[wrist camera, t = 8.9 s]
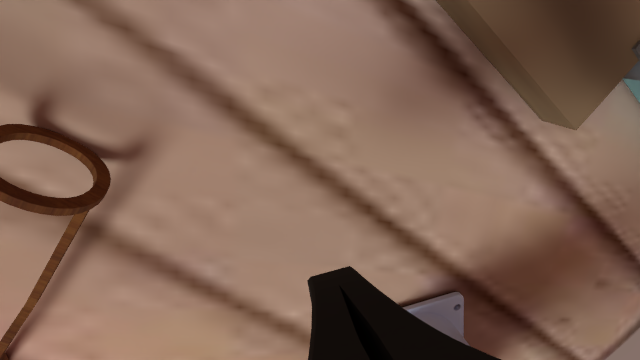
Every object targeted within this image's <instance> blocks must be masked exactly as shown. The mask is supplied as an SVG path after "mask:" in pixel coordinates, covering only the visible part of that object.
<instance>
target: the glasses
mask: <svg viewBox="0 0 640 360" xmlns="http://www.w3.org/2000/svg"><path fill="white" fill-rule="evenodd" d="M11 140H30V141H36V142H40V143H44V144H47V145H50V146H53V147H56V148H58V149H60V150H63V151H65V152H67V153H68V154H70V155H72V156H74V157H75V158H77V159H78V160H80V161H81V162H82V163H83V164H84V165H85V166H86V167H87V168H88V169H89V170H90V172H91V174H92V176H93V181H94V182H93V187H92V188H91V189H90V190H89V191H88V192H86V193H84V194H82V195H79V196H77V197H71V198H54V197H47V196H42V195H38V194H34V193H31V192H29V191H26V190H23V189H20V188H18V187H16V186H14V185H12V184H10V183H8V182H7V181H5V180H4V179H2V178H0V201H2V202H4V203H7V204H9V205H11V206H14V207H17V208H20V209H23V210H26V211H31V212H35V213H39V214H46V215H55V216H67V215H74V216H73V218H72V220H71V221H70V223H69V225H68V227H67V229H66V231H65V232H64V234H63V236H62V238H61V240H60V242H59V243H58V245H57V247H56V249H55V251H54V252H53V254H52V256H51V258H50V260H49V262H48V263H47V265H46V267H45V269H44V271H43V273H42V274H41V276H40V278H39V280H38V282H37V284H36V285H35V287H34V289H33V291H32V293H31V295H30V296H29V298H28V300H27V302H26V304H25V305H24V307H23V308H22V310H21V311H20V313H19V314H18V316H17V317H16V319H15V320H14V322H13V323H12V325H11V326H10V328H9V329H8V330H7V332H6V333H5V335H4V336H3V338H2V339H1V341H0V360H9V359H8V357H7V355H6V353H5V351H6V349H7V348H8V346H9V345H10V343H11V341H12V340H13V338H14V337H15V335H16V333H17V332H18V330H19V329H20V327H21V326H22V324H23V323H24V321H25V320H26V318H27V317H28V316H29V314H30V313H31V311H32V310H33V308H34V307H35V305H36V303H37V302H38V300H39V299H40V297H41V295H42V293H43V292H44V290H45V288H46V286H47V284H48V283H49V281H50V279H51V277H52V276H53V274H54V272H55V270H56V268H57V267H58V265H59V263H60V261H61V260H62V258H63V256H64V254H65V252H66V251H67V249H68V247H69V245H70V244H71V242H72V240H73V238H74V236H75V235H76V233H77V231H78V229H79V228H80V226H81V224H82V222H83V220H84V219H85V217H86V215H87V213H88V212H89V210H90V209H92V208H93V207H95V206H96V205H98V204H99V203H100V202H101V200H102V199H103V198H104V196H105V194H106V193H107V191H108V189H109V186H110V180H111V178H110V173H109V170H108V168H107V167H106V165H105V163H104V162H103V161H102V160H101V159H100V158H99V157H98V156H97V155H96V154H94V153H93V152H92V151H91V150H89V149H88V148H86V147H85V146H83V145H81V144H80V143H78V142H76V141H73V140H71V139H69V138H67V137H65V136H63V135H61V134H59V133H56V132H53V131H50V130H47V129H43V128H39V127H35V126H30V125H23V124H6V125H1V126H0V143H2V142H6V141H11Z"/></svg>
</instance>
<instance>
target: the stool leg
mask: <svg viewBox="0 0 640 360" xmlns="http://www.w3.org/2000/svg"><path fill="white" fill-rule="evenodd" d="M623 80H624V81H625V83H626V84H627V86H628V87H629V88H630V90H631V91H632V93H633V94H634V95H635V97H636V98H637V100H638V101H639V103H640V62H637V63H636V64H635V65H634V67H633V68H632V69H631V70H630V71H629V72H628V73H627V74H626V75H625V77H624V78H623Z"/></svg>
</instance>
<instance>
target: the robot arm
mask: <svg viewBox="0 0 640 360" xmlns="http://www.w3.org/2000/svg"><path fill="white" fill-rule="evenodd" d="M308 286H309V292H310V297H311V302H312V329H311V339H310V349H309V357H308V360H501V359H498V358H496V357H493V356H491V355H489V354H486V353H484V352H482V351H479V350H477V349H475V348H473V347H471V346H470V345H469V344H468V343H467V341H466V340H465V339H464V297H463V296H462V295H461V294H460V293H459V292H453V293H450V294H446V295H443V296H439V297H436V298H433V299H429V300H426V301H423V302H419V303H416V304H413V305H409V306H406V307H403V308H402V307H401V306H400V305H398V304H397V303H395V302H394V301H393V300H391V299H390V298H389V297H387V296H386V295H385V294H383V293H382V292H381V291H379V290H378V289H377V288H376V287H374V286H373V285H372V284H371V283H370V282H368V281H367V280H366V279H365V278H364V277H362V276H361V275H360V274H359V273H358V272H357V271H356V270H354V269H353V268H352V267H350V266H349V267H345V268H341V269H338V270H334V271H330V272H327V273H323V274H319V275H316V276H312V277H310V278H309V280H308ZM455 305H456V306H455ZM454 306H455V307H454Z"/></svg>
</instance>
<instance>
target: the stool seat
mask: <svg viewBox="0 0 640 360" xmlns="http://www.w3.org/2000/svg"><path fill="white" fill-rule="evenodd" d="M436 1H437V2H438V3H439V4H440V5H441V7H442V8H443V9H444V10H445V11H446V12H447V13H448V15H449V16H450V17H451V18H452V19H453V20H454V21H455V23H456V24H457V25H458V26H459V27H460V28H461V29H462V30H463V32H464V33H465V34H466V35H467V36H468V37H469V38H470V40H471V41H472V42H473V43H474V44H475V45H476V46H477V47H478V49H479V50H480V51H481V52H482V53H483V54H484V55H485V57H486V58H487V59H488V60H489V61H490V62H491V63H492V64H493V66H494V67H495V68H496V69H497V70H498V71H499V72H500V74H501V75H502V76H503V77H504V78H505V79H506V80H507V82H508V83H509V84H510V85H511V86H512V87H513V88H514V89H515V91H516V92H517V93H518V94H519V95H520V96H521V97H522V99H523V100H524V101H525V102H526V103H527V104H528V105H529V106H530V108H531V109H532V110H533V111H534V112H535V113H536V114H537V116H538V117H539V118H540V119H541V120H542V121H545V122H549V123H552V124H556V125H559V126H563V127H566V128H570V129H573V130H577V129H578V128H579V127H580V126H581V124H582V123H583V122H584V121H585V120H586V119H587V118H588V117H589V116H590V114H591V113H592V112H593V111H594V110H595V109H596V108H597V107H598V106H599V104H600V103H601V102H602V101H603V100H604V99H605V98H606V97H607V96H608V94H609V93H610V92H611V91H612V90H613V89H614V88H615V87H616V85H617V84H618V83H619V82H620V81H621V80H622V79H623V78H624V77H625V75H626V74H627V73H628V72H629V71H630V70H631V69H632V68H633V67H634V65H635V64H636V63H637V62H640V0H436Z"/></svg>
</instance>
